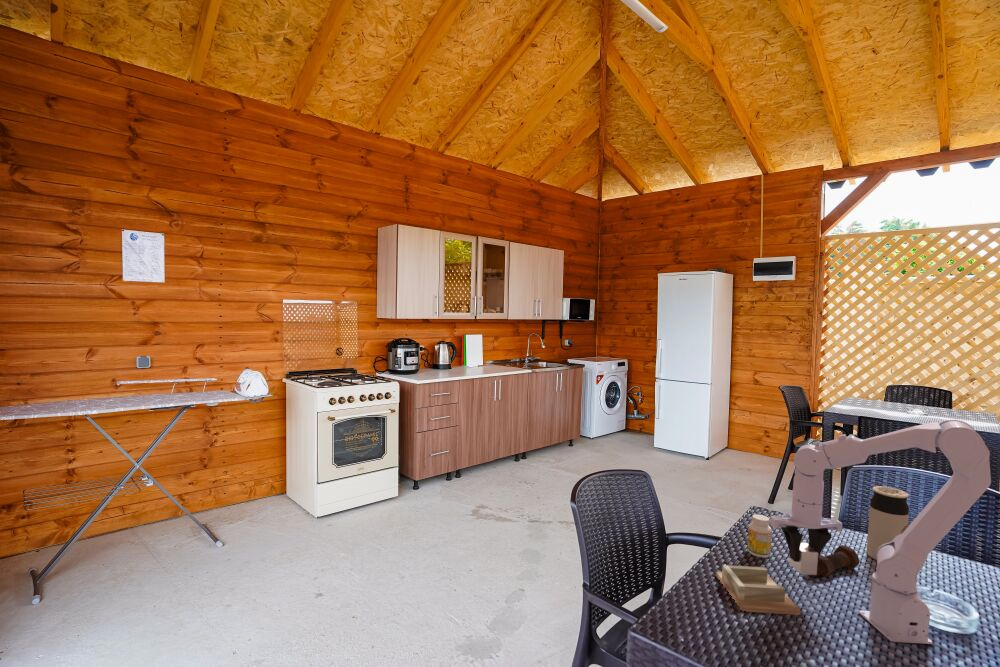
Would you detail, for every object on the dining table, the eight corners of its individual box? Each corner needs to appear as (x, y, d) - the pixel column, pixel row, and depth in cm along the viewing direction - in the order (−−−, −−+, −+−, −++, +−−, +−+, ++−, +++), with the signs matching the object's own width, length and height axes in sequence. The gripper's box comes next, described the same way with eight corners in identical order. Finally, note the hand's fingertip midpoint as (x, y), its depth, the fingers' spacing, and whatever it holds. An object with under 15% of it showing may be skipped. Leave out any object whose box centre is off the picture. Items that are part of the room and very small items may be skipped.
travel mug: (859, 553, 133) (864, 487, 132) (879, 549, 136) (884, 484, 135) (891, 568, 126) (897, 498, 125) (911, 563, 129) (917, 494, 128)
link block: (816, 574, 109) (818, 552, 109) (800, 573, 109) (801, 551, 109) (804, 564, 113) (806, 542, 113) (789, 563, 113) (790, 541, 113)
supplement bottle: (771, 560, 128) (774, 523, 127) (748, 555, 130) (750, 519, 129) (768, 550, 133) (770, 515, 133) (746, 546, 135) (748, 511, 134)
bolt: (806, 583, 121) (844, 569, 127) (824, 582, 117) (863, 568, 123) (795, 557, 123) (833, 545, 129) (813, 556, 119) (852, 543, 125)
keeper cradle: (800, 614, 105) (801, 596, 104) (741, 611, 105) (743, 592, 105) (767, 578, 119) (768, 562, 118) (716, 575, 119) (717, 559, 119)
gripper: (830, 494, 114) (825, 553, 115) (765, 491, 115) (761, 549, 115) (850, 507, 107) (845, 569, 108) (781, 503, 108) (777, 565, 108)
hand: (803, 560), depth 111 cm, fingers closed on link block, 3 cm apart
